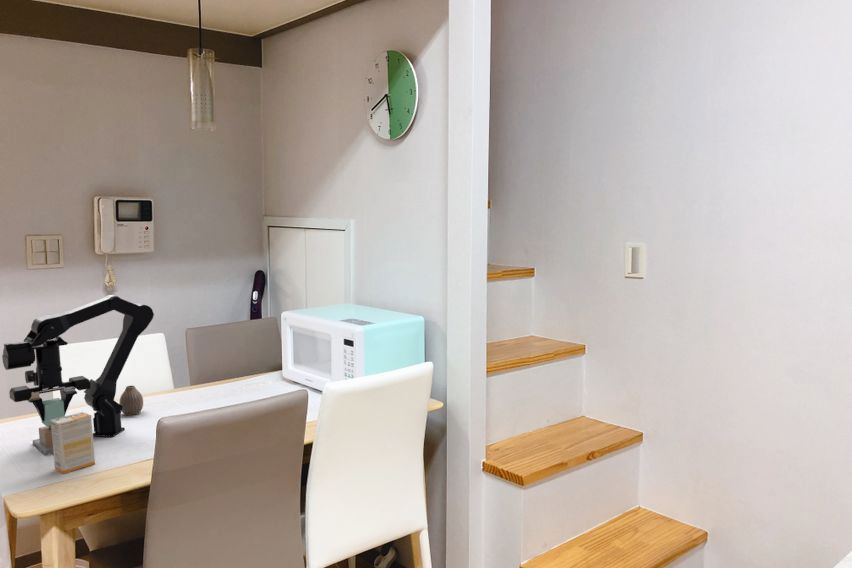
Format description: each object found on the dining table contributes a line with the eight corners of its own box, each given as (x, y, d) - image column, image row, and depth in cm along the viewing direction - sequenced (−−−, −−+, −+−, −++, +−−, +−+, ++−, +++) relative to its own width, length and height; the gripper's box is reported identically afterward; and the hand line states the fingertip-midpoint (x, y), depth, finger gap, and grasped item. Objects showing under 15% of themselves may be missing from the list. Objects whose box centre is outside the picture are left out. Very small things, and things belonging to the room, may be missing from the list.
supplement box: (86, 460, 181) (83, 411, 179) (95, 464, 177) (92, 414, 176) (53, 469, 174) (49, 419, 173) (62, 474, 171) (58, 422, 170)
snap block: (60, 418, 194) (58, 397, 193) (65, 422, 191) (63, 401, 190) (41, 422, 191) (39, 401, 190) (46, 426, 187) (44, 404, 187)
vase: (115, 416, 217) (113, 388, 216) (129, 409, 223) (127, 382, 222) (134, 417, 215) (133, 390, 214) (148, 411, 222) (146, 384, 221)
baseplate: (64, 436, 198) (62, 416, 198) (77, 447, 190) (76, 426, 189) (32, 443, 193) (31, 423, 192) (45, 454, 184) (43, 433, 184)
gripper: (75, 352, 201) (79, 405, 203) (1, 364, 188) (7, 420, 190) (88, 359, 193) (92, 413, 195) (12, 371, 180) (17, 429, 182)
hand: (53, 419), depth 190 cm, fingers closed on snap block, 4 cm apart
